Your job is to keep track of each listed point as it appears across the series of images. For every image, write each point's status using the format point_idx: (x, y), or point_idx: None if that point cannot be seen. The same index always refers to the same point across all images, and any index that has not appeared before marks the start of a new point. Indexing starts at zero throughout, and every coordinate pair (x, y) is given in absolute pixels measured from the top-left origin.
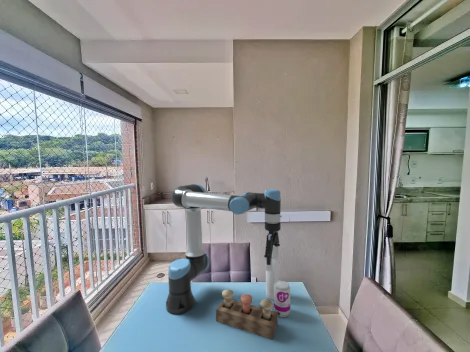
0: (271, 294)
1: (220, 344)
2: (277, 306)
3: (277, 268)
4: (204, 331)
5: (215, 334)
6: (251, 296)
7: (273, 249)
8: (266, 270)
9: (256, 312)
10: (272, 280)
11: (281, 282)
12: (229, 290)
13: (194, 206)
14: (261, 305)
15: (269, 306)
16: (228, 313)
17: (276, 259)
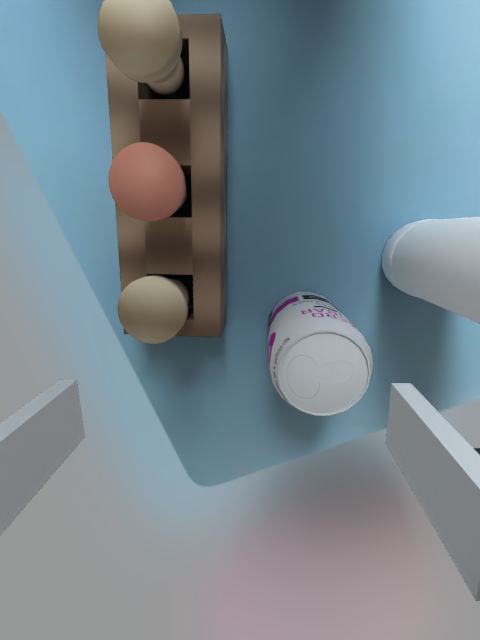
0: (390, 262)
1: (31, 142)
2: (270, 323)
3: None
4: (51, 32)
5: (61, 93)
6: (168, 209)
7: (455, 471)
8: (59, 384)
9: (175, 244)
10: (425, 278)
11: (347, 366)
12: (166, 27)
13: None
14: (125, 288)
15: (128, 332)
16: (109, 106)
17: None
